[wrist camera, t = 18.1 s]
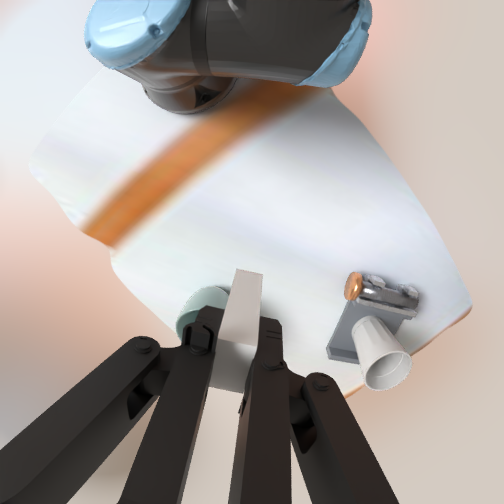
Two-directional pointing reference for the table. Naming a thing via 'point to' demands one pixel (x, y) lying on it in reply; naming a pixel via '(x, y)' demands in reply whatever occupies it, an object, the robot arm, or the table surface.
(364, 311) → the dock
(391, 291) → the lock pin
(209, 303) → the cup
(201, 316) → the robot arm
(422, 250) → the table surface
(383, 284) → the lug rail
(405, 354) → the cup
